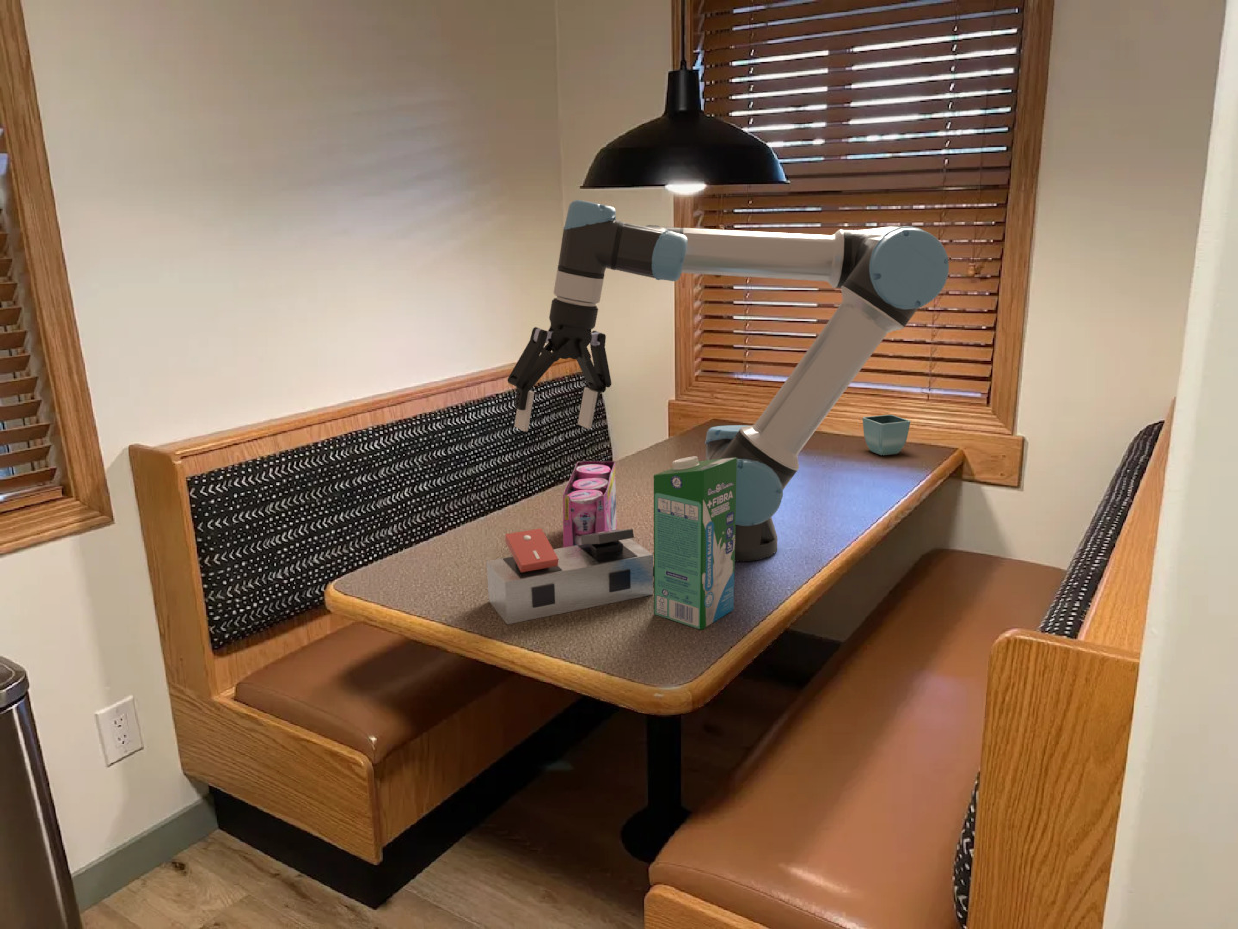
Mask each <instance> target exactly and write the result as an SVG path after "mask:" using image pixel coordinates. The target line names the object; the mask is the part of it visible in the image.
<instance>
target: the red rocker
mask: <svg viewBox="0 0 1238 929" xmlns="http://www.w3.org/2000/svg"><path fill="white" fill-rule="evenodd" d="M504 536H505V537H504V542H505V544H506V546H507V547H508V549H509V551H510V552H509V553H511V557H512V556H513V558H514V560H515V562H516V563H517V565H518V567H519V569H520V571H521V572H527V571H532V570H538V569H543V568H549V567H554V566H558V557H557V555H556V554H555V552H554V550H553V549H554V548H553V547H552V544H551V543H550V541H549V540H548V538H547V536H546V534H545V533H544V531H543V529H542V528H541V527H539V528H534V529H528V530H523V531H516V532H510V533H505V535H504Z"/></svg>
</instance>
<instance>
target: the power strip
mask: <svg viewBox="0 0 1238 929" xmlns="http://www.w3.org/2000/svg"><path fill="white" fill-rule="evenodd" d="M553 550H554V552H555V554H556V555H557V557H558V566H554V567H549V568H543V569H538V570H532V571H527V572H521V571H520V569H519V567H518V565H517V563H516V562H515V560H514V558H513V556H512V555H511V556H508V557H503V558H496V559H490V560H486V570H487V571H486V574H487V588H488V589H487V590H488V593H487V594H488V603H489V604H490V605H491V606H492V607H493V608H494V610H495V612H497V614H498V615H499V616H500V618H501V619H502V620H503V621H504V623H505V624H506V625H512V624H515V623H522V622H527V621H530V620H536V619H541V618H546V617H550V616H554V615H560V614H565V613H569V612H574V611H579V610H580V611H581V610H585V609H588V608H594V607H599V606H604V605H608V604H614V603H620V602H623V601H627V600H632V599H637V598H643V597H647V596H651V595H653V596H654V553H651V552H650V551H649V550H648V549H646V548H645V547H643V546H641V544H639V542H636V541H635V540H633V538H630V539H624V540H619V541H613V542H607V543H602V544H581V545H575V546H570V547H564V548H563V547H560V548H553Z"/></svg>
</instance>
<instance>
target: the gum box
mask: <svg viewBox="0 0 1238 929" xmlns="http://www.w3.org/2000/svg"><path fill="white" fill-rule="evenodd" d="M616 481H617V480H616V461H614V460H612V461H611V460H610V461H609V460H605V461H603V460H579V461H577V462H576V463H575V466H574V469H573V471H572V473H571V475H570V477H569V480H568V483H567V484H566V486H565V488H564V490H563V492H562V525H563V526H562V530H563V531H562V533H563V534H562V535H563V536H562V544H563V546H562V548H564V547H570V546H575V545H581V544H582V542H581V536H582V535H588V534H594V533H599V532H605V531H611V530H617V526H618V525H617V524H618V522H617V521H618V520H617V489H616V484H617V483H616Z"/></svg>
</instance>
